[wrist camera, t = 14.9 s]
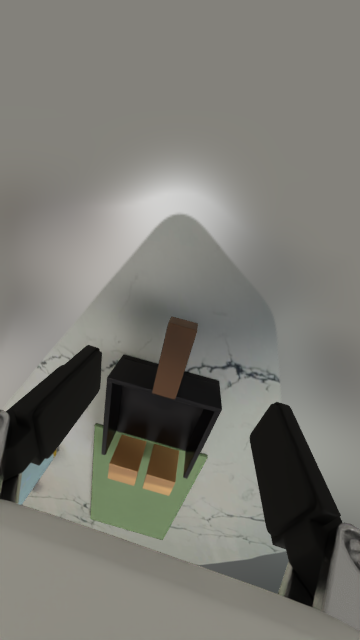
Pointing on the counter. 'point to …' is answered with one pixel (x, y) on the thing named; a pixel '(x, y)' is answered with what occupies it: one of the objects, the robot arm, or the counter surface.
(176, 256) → the counter surface
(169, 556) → the robot arm
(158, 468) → the block
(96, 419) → the counter surface
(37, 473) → the bottle
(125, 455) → the block
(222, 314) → the counter surface
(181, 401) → the pan
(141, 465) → the mat
